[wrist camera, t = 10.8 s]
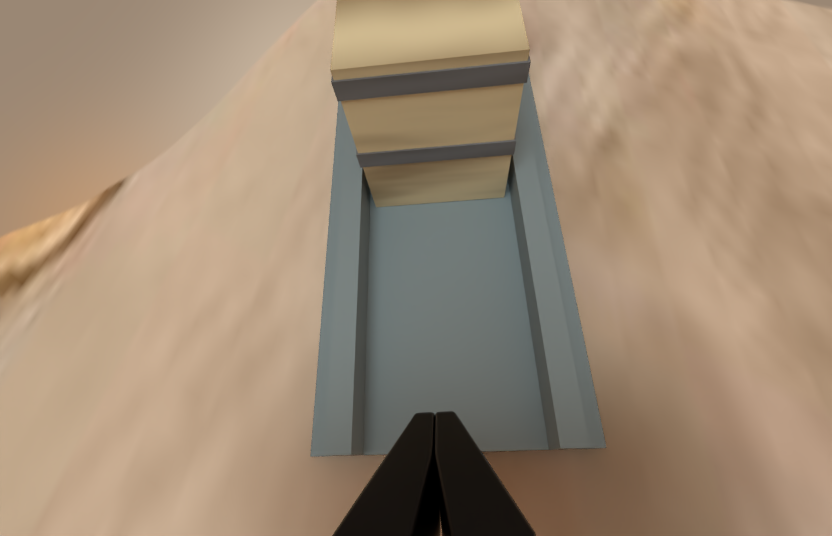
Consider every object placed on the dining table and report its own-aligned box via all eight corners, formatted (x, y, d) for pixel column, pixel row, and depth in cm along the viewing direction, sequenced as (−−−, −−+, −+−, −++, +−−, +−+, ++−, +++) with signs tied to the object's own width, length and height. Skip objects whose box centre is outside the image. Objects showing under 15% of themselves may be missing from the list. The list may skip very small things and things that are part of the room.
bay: (619, 447, 19) (753, 439, 10) (314, 456, 20) (206, 455, 12) (530, 41, 31) (556, -117, 23) (344, 60, 33) (302, -83, 24)
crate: (506, 198, 25) (532, 50, 16) (374, 208, 25) (327, 72, 16) (493, 112, 28) (509, -53, 19) (376, 123, 29) (338, -32, 20)
